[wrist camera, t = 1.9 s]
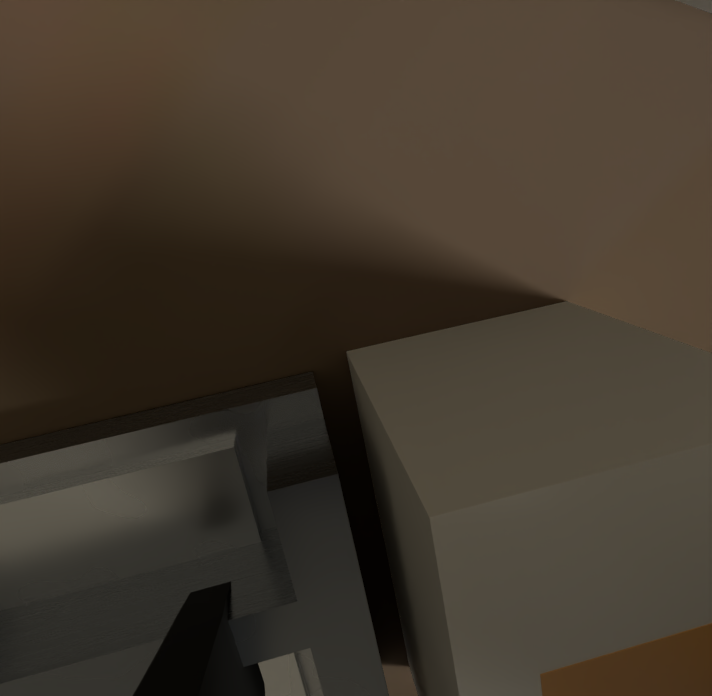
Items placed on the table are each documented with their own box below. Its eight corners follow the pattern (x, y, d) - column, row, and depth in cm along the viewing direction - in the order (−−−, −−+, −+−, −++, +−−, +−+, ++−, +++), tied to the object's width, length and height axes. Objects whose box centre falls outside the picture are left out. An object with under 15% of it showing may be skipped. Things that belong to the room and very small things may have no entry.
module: (586, 611, 12) (806, 899, 7) (408, 663, 11) (512, 1007, 7) (564, 300, 10) (859, 406, 5) (345, 349, 9) (430, 518, 4)
